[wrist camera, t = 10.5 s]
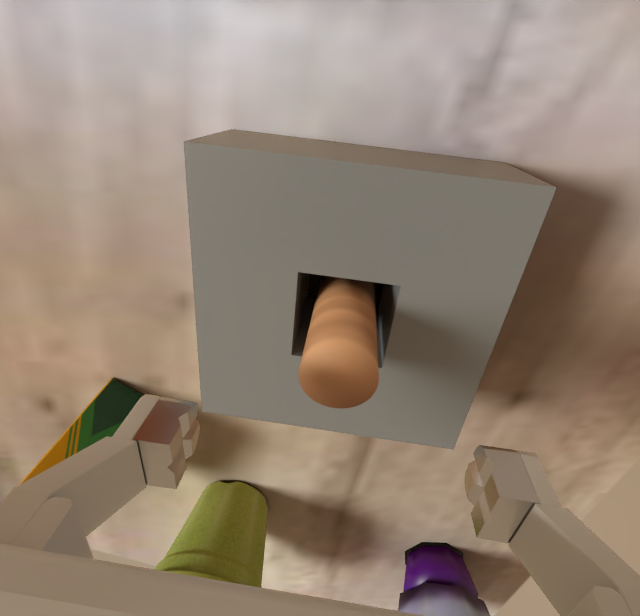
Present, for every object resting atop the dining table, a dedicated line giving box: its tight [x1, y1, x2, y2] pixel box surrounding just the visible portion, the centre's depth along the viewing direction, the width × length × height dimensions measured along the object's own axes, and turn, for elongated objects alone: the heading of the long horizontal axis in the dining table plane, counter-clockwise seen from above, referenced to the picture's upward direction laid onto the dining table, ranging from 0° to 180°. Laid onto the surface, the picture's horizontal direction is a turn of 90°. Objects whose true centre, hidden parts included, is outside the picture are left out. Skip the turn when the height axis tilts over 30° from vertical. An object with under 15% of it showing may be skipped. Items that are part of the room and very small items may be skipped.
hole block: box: [184, 129, 557, 449], centre depth 20 cm, size 14×14×6 cm
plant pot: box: [155, 481, 268, 588], centre depth 31 cm, size 9×9×9 cm
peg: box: [298, 275, 379, 409], centre depth 19 cm, size 3×3×10 cm
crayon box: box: [19, 378, 144, 485], centre depth 26 cm, size 7×3×12 cm, turn 143°
